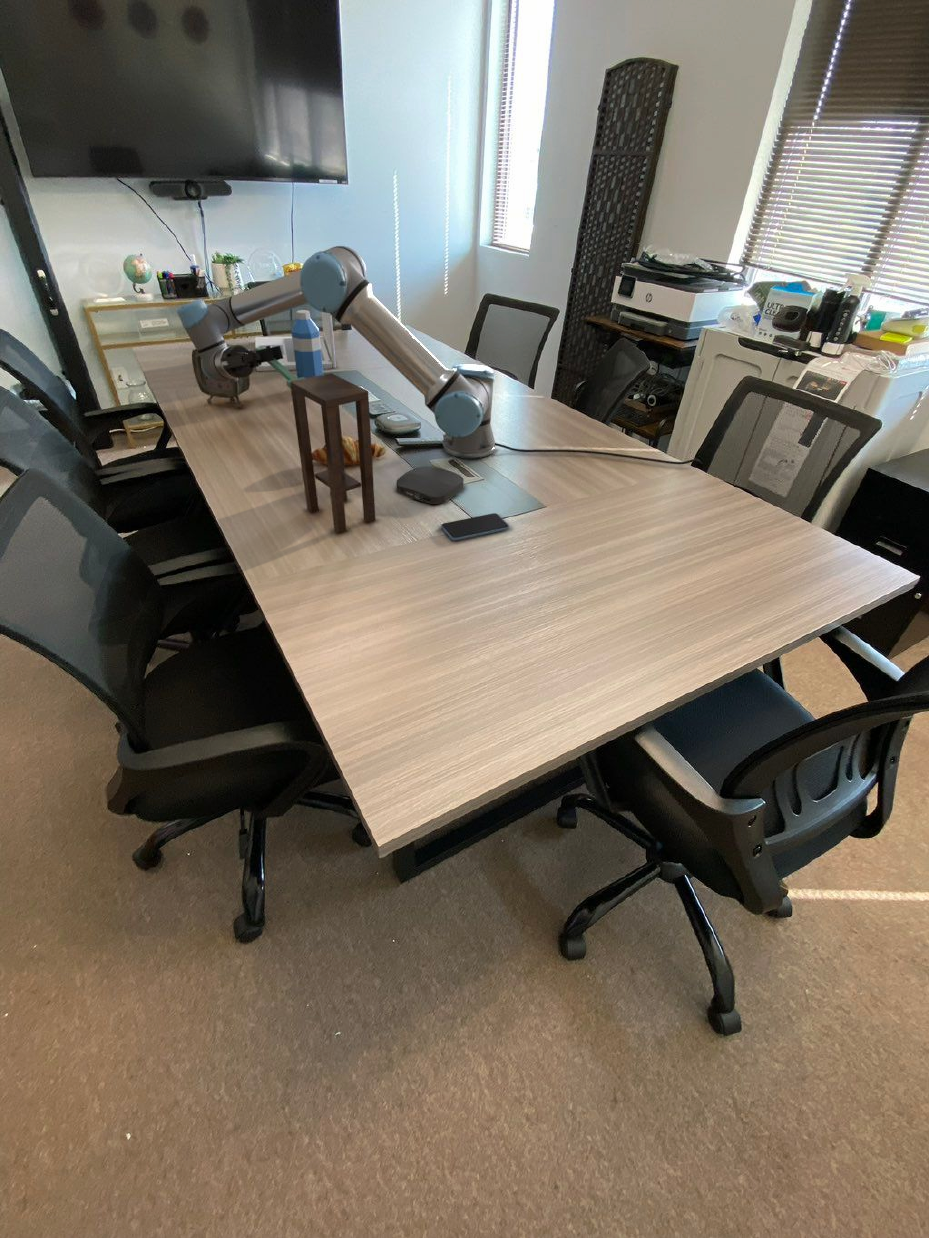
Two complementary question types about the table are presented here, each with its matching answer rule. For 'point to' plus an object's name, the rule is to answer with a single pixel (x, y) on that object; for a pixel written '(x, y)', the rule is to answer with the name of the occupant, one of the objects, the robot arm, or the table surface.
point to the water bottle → (306, 346)
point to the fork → (282, 370)
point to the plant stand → (334, 443)
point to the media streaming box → (430, 484)
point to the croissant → (348, 452)
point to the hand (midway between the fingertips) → (275, 353)
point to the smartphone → (474, 526)
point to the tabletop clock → (218, 383)
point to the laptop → (288, 349)
